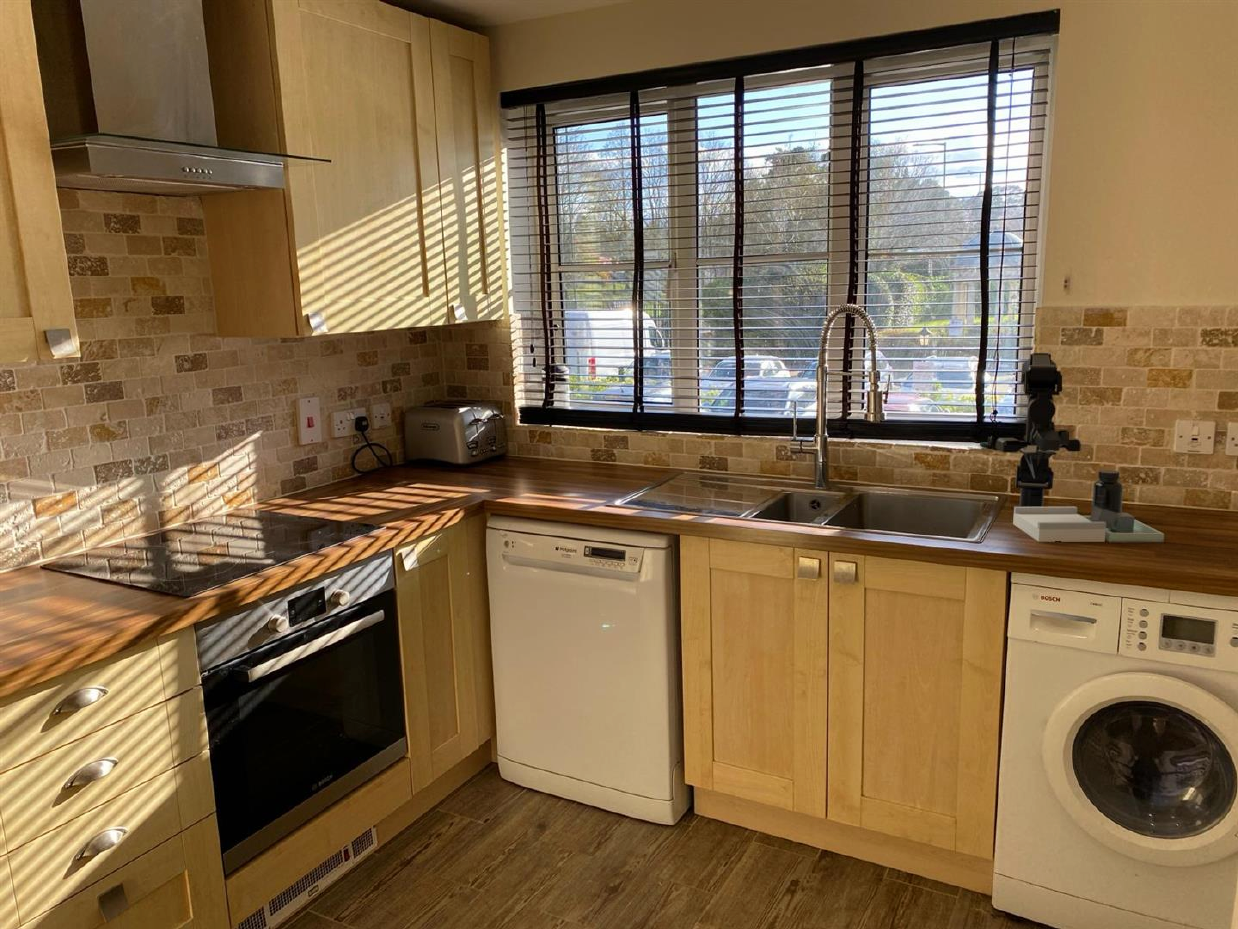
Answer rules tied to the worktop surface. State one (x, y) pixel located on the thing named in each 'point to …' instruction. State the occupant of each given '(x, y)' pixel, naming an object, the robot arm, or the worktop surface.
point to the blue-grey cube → (1104, 516)
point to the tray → (1134, 534)
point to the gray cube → (1124, 523)
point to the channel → (1058, 524)
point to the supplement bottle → (1108, 491)
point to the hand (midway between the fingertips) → (1035, 478)
